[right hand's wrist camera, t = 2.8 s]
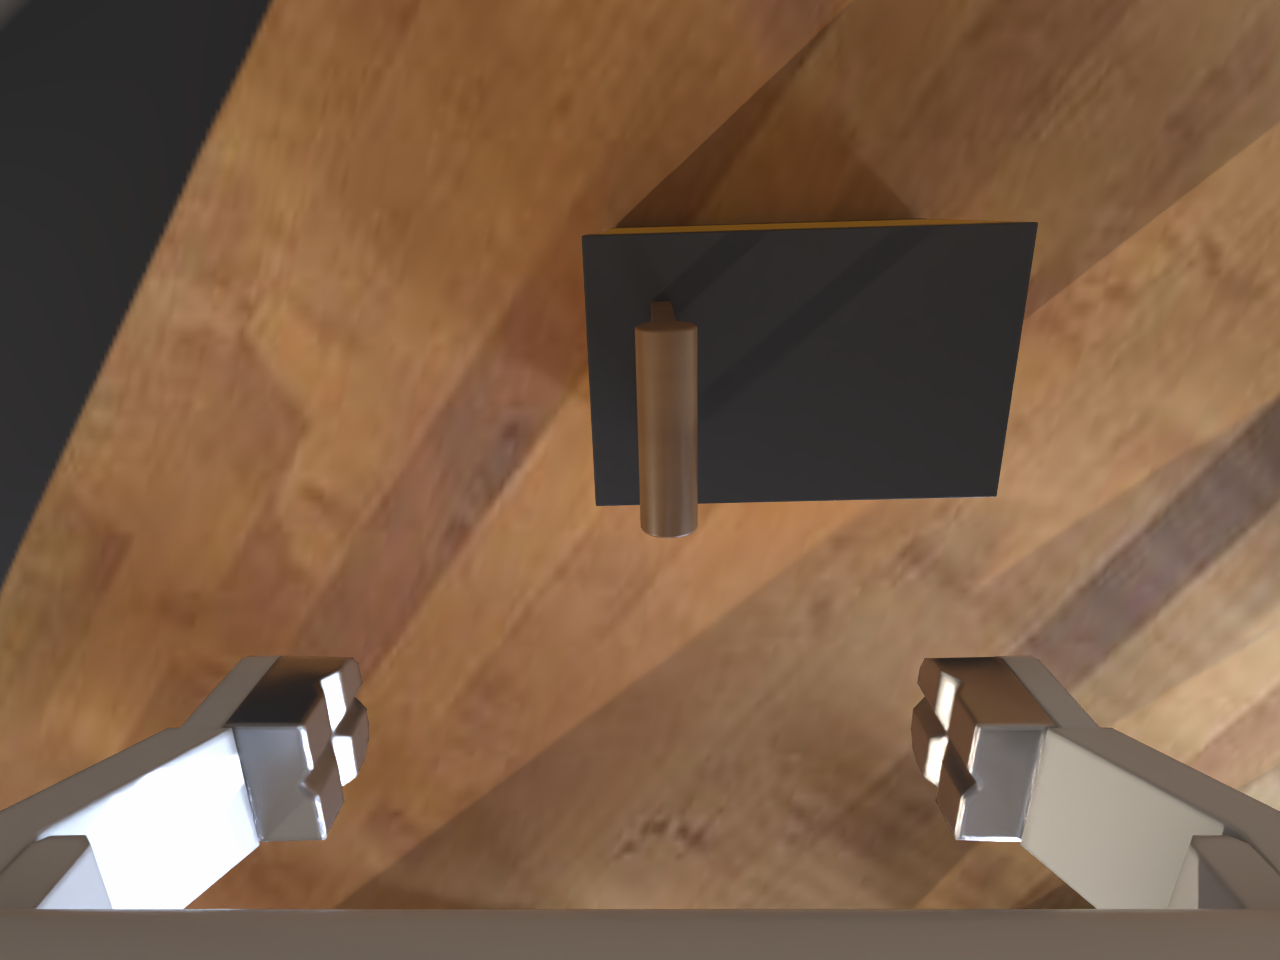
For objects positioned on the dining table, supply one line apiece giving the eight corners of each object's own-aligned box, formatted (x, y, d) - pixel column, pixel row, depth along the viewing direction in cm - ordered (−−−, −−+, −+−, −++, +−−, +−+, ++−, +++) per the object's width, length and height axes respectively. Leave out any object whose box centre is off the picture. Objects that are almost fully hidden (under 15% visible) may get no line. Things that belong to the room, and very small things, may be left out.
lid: (597, 495, 29) (578, 607, 21) (584, 234, 25) (554, 245, 17) (984, 486, 29) (1118, 596, 20) (1022, 221, 25) (1201, 226, 17)
